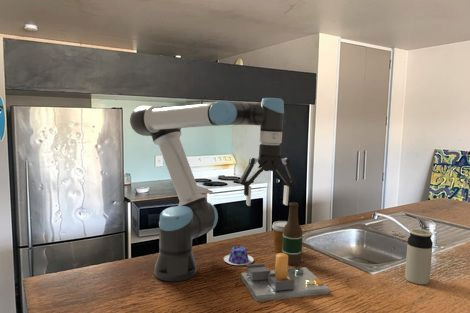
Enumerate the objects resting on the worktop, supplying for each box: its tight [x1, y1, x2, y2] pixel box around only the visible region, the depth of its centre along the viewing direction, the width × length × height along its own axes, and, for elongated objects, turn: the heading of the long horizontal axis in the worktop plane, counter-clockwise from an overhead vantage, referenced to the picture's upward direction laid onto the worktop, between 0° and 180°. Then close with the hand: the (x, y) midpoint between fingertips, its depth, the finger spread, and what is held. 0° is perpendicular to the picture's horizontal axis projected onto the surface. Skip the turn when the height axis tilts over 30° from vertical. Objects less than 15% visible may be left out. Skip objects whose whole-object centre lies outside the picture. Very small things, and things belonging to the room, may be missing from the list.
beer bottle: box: [282, 201, 303, 266], centre depth 146 cm, size 8×8×24 cm
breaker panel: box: [240, 266, 330, 303], centre depth 126 cm, size 25×17×3 cm
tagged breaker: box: [268, 273, 294, 291], centre depth 121 cm, size 6×6×3 cm
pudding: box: [223, 245, 255, 266], centre depth 147 cm, size 12×12×5 cm
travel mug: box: [404, 228, 434, 285], centre depth 132 cm, size 8×8×18 cm
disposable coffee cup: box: [271, 220, 288, 254], centre depth 158 cm, size 10×10×12 cm
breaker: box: [246, 263, 270, 281], centre depth 128 cm, size 6×6×3 cm
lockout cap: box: [274, 253, 289, 281], centre depth 121 cm, size 4×4×8 cm
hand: (266, 204), depth 128 cm, fingers open, 13 cm apart
